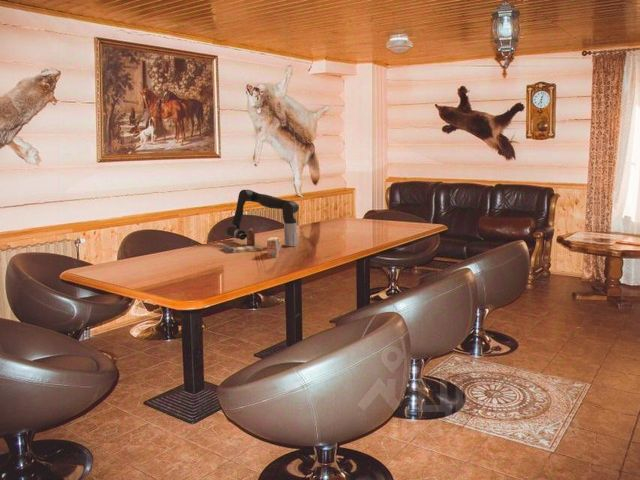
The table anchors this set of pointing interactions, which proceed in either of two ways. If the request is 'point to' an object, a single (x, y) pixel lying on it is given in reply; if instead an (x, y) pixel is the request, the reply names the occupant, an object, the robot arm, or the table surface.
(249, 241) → the brown pillar with knob
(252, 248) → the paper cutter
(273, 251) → the stack of blocks
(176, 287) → the table surface
